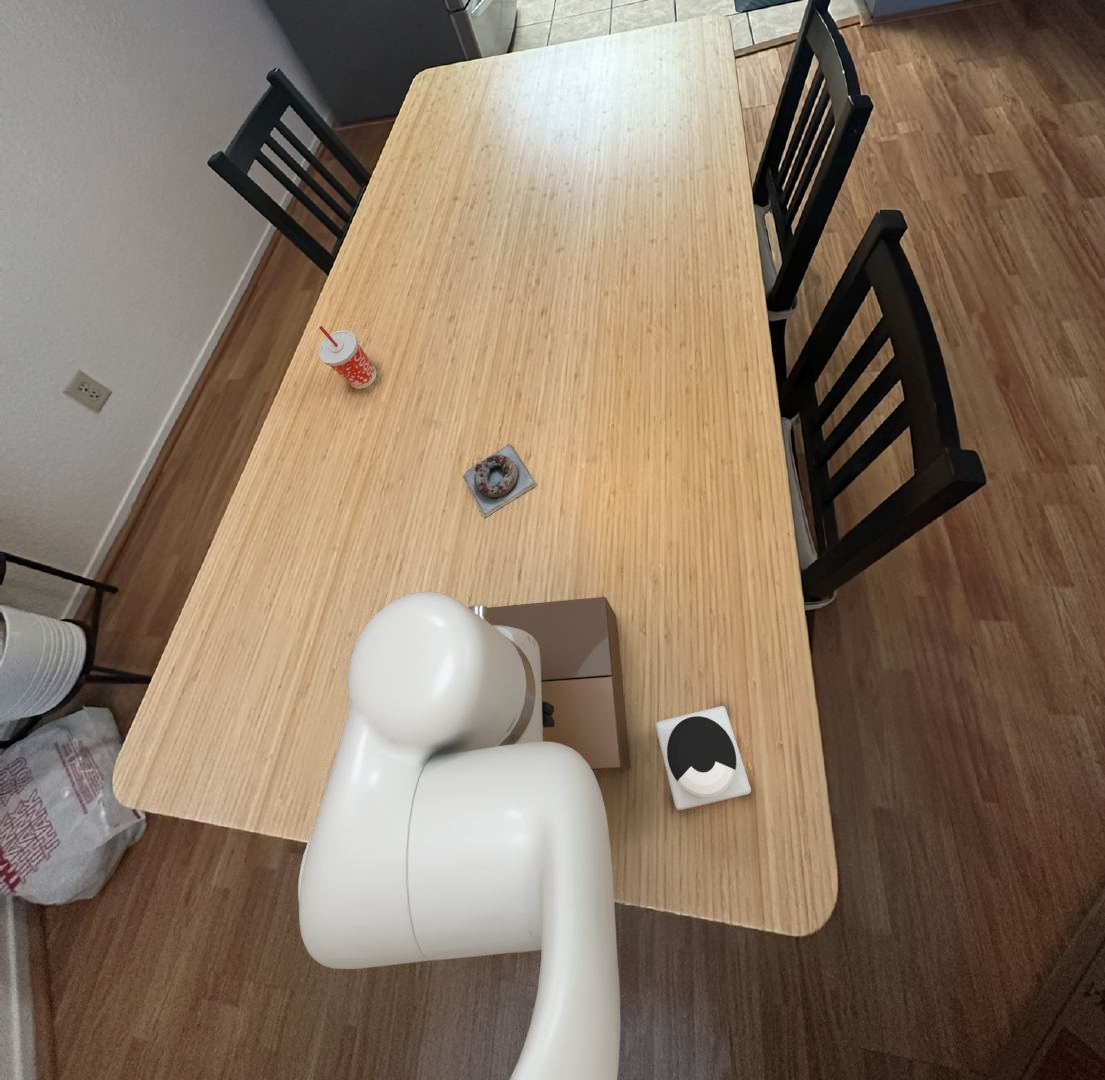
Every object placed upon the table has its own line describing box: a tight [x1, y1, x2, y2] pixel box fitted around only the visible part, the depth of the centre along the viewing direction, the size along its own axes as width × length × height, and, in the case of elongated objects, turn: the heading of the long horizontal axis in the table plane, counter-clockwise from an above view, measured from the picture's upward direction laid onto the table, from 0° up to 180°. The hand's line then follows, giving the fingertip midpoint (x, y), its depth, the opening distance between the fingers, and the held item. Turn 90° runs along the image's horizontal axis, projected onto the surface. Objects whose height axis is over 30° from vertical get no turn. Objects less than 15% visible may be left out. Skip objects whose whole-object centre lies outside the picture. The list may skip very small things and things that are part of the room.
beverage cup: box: [318, 325, 377, 390], centre depth 96 cm, size 6×6×14 cm
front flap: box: [541, 677, 620, 769], centre depth 60 cm, size 7×13×1 cm, turn 92°
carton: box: [487, 596, 632, 771], centre depth 66 cm, size 15×13×10 cm
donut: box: [462, 444, 538, 519], centre depth 86 cm, size 8×8×2 cm
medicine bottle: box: [654, 705, 752, 811], centre depth 60 cm, size 7×7×12 cm
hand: (537, 717), depth 56 cm, fingers closed
